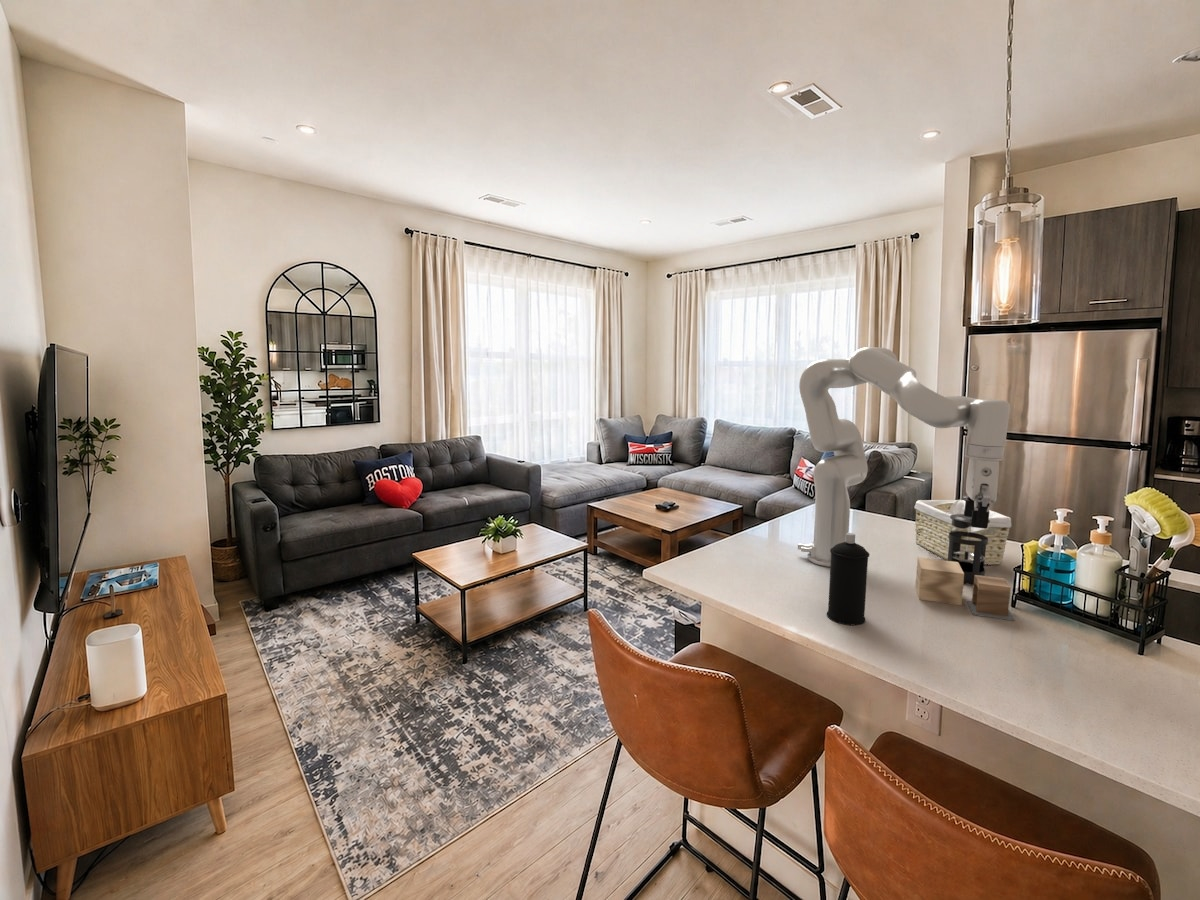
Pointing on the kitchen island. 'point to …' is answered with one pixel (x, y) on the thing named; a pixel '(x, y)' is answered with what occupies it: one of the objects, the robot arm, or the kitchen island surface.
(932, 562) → the plinth
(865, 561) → the aerosol can
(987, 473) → the robot arm
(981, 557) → the french press
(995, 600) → the u-shaped wooden block
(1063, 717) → the kitchen island surface
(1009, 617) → the coaster
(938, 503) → the storage basket
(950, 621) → the kitchen island surface
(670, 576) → the kitchen island surface
